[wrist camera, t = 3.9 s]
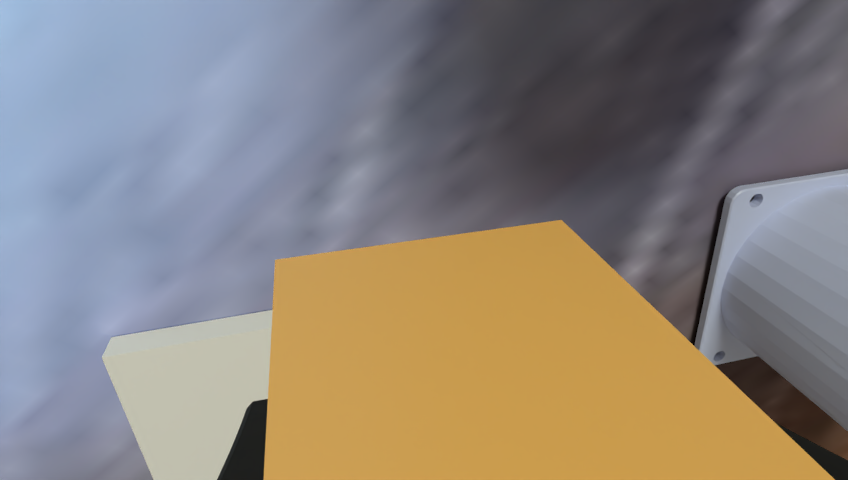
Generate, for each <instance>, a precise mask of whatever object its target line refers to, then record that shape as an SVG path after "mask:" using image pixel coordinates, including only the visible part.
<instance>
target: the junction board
mask: <svg viewBox="0 0 848 480" xmlns="http://www.w3.org/2000/svg"><path fill="white" fill-rule="evenodd" d="M272 312H273V310H270V311H264V312H258V313H252V314H246V315H240V316H234V317H228V318H223V319H217V320H211V321H205V322H199V323H193V324H187V325H181V326H176V327H170V328H164V329H158V330H152V331H146V332H140V333H134V334H128V335H123V336H117V337H111V339H110V341H109V344H108V346H107V348H106V350H105V352H104V354H103V356H102V359H103V362H104V364H105V366H106V369H107V371H108V373H109V376H110V378H111V380H112V383H113V385H114V387H115V390H116V392H117V395H118V397H119V399H120V402H121V404H122V406H123V409H124V411H125V413H126V416H127V418H128V420H129V423H130V425H131V428H132V430H133V432H134V435H135V437H136V439H137V442H138V444H139V446H140V449H141V451H142V453H143V456H144V458H145V461H146V463H147V465H148V468H149V470H150V472H151V475H152V477H153V479H154V480H217V479H218V476H219V474H220V472H221V470H222V468H223V465H224V463H225V461H226V459H227V456H228V454H229V452H230V450H231V447H232V445H233V443H234V440H235V438H236V435H237V433H238V430H239V428H240V425H241V423H242V420H243V417H244V414H245V412H246V409H247V407H248V406H249V405H250V404H251V403H252V402H253V401H258V400H264V399H268V386H269V368H270V349H271V330H272Z"/></svg>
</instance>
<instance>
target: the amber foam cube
mask: <svg viewBox="0 0 848 480" xmlns="http://www.w3.org/2000/svg"><path fill="white" fill-rule="evenodd" d="M264 480H835V479H834V478H833V477H832V476H831V475H830V474H829V473H828V472H826V471H825V470H824V469H823V468H822V467H821V466H820V465H819V464H818V463H817V462H816V461H815V460H814V459H813V458H812V457H811V456H810V455H809V454H807V453H806V452H805V451H804V450H803V449H802V448H801V447H800V446H799V445H798V444H797V443H796V442H795V441H794V440H793V439H792V438H791V437H790V436H789V435H787V434H786V433H785V432H784V431H783V430H782V429H781V428H780V427H779V426H778V425H777V424H776V423H775V422H774V421H773V420H772V419H771V418H770V417H769V416H767V415H766V414H765V413H764V412H763V411H762V410H761V409H760V408H759V407H758V406H757V405H756V404H755V403H754V402H753V401H752V400H751V399H750V398H748V397H747V396H746V395H745V394H744V393H743V392H742V391H741V390H740V389H739V388H738V387H737V386H736V385H735V384H734V383H733V382H732V381H731V380H730V379H728V378H727V377H726V376H725V375H724V374H723V373H722V372H721V371H720V370H719V369H718V368H717V367H716V366H715V365H714V364H713V363H712V362H711V361H710V360H708V359H707V358H706V357H705V356H704V355H703V354H702V353H701V352H700V351H699V350H698V349H697V348H696V347H695V346H694V345H693V344H692V343H691V342H689V341H688V340H687V339H686V338H685V337H684V336H683V335H682V334H681V333H680V332H679V331H678V330H677V329H676V328H675V327H674V326H673V325H672V324H671V323H669V322H668V321H667V320H666V319H665V318H664V317H663V316H662V315H661V314H660V313H659V312H658V311H657V310H656V309H655V308H654V307H653V306H652V305H651V304H649V303H648V302H647V301H646V300H645V299H644V298H643V297H642V296H641V295H640V294H639V293H638V292H637V291H636V290H635V289H634V288H633V287H632V286H630V285H629V284H628V283H627V282H626V281H625V280H624V279H623V278H622V277H621V276H620V275H619V274H618V273H617V272H616V271H615V270H614V269H613V268H612V267H610V266H609V265H608V264H607V263H606V262H605V261H604V260H603V259H602V258H601V257H600V256H599V255H598V254H597V253H596V252H595V251H594V250H593V249H592V248H590V247H589V246H588V245H587V244H586V243H585V242H584V241H583V240H582V239H581V238H580V237H579V236H578V235H577V234H576V233H575V232H574V231H573V230H571V229H570V228H569V227H568V226H567V225H566V224H565V223H564V222H563V221H562V220H557V221H550V222H543V223H536V224H529V225H521V226H514V227H507V228H500V229H493V230H486V231H478V232H471V233H464V234H457V235H450V236H443V237H435V238H428V239H421V240H414V241H407V242H399V243H392V244H385V245H378V246H371V247H364V248H356V249H349V250H342V251H335V252H328V253H321V254H313V255H306V256H299V257H292V258H285V259H277V260H275V274H274V293H273V312H272V330H271V349H270V368H269V386H268V405H267V424H266V442H265V461H264Z"/></svg>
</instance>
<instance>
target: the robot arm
mask: <svg viewBox="0 0 848 480" xmlns="http://www.w3.org/2000/svg"><path fill="white" fill-rule="evenodd" d="M754 195H755V196H754ZM753 196H754V198H753V200H752V201H750V200H751V198H752V197H753ZM694 346H695V347H696V348H697V349H698V350H699V351H700V352H701V353H702V354H703V355H704V356H705V357H706V358H707V359H708V360H710V361H711V362H712V363H713V364H714V365H719V364H723V363H728V362H733V361H737V360H742V359H747V358H751V357H756V356H759V357H760V358H761V359H762V360H763V361H765V362H766V363H767V364H768V365H769V366H771V367H772V368H773V369H774V370H775V371H776V372H778V373H779V374H780V375H781V376H782V377H784V378H785V379H786V380H787V381H788V382H790V383H791V384H792V385H793V386H794V387H796V388H797V389H798V390H799V391H800V392H801V393H803V394H804V395H805V396H806V397H807V398H809V399H810V400H811V401H812V402H813V403H815V404H816V405H817V406H818V407H819V408H821V409H822V410H823V411H824V412H825V413H827V414H828V415H829V416H830V417H831V418H832V419H834V420H835V421H836V422H837V423H838V424H840V425H841V426H842V427H843V428H844V429H846V430H847V431H848V169H846V170H839V171H833V172H826V173H820V174H813V175H807V176H800V177H794V178H788V179H781V180H775V181H768V182H762V183H755V184H749V185H742V186H738V187H735V188H734V189H732V190H731V191H730V192H729V193H728V194H727V196H726V198H725V201H724V206H723V211H722V216H721V220H720V225H719V230H718V235H717V239H716V244H715V249H714V254H713V259H712V263H711V268H710V273H709V278H708V283H707V287H706V292H705V297H704V302H703V306H702V311H701V316H700V321H699V326H698V330H697V335H696V340H695V345H694ZM267 405H268V399H264V400H258V401H253V402H252V403H251V404H250V405H249V406H248V407H247V409H246V412H245V414H244V417H243V420H242V423H241V425H240V428H239V430H238V433H237V435H236V438H235V440H234V443H233V445H232V447H231V450H230V452H229V454H228V456H227V459H226V461H225V463H224V465H223V468H222V470H221V472H220V474H219V476H218V479H217V480H264V461H265V442H266V424H267ZM776 424H777V423H776ZM777 425H778V426H779V427H780V428H781V429H782V430H783V431H784V432H785V433H786V434H787V435H789V436H790V437H791V438H792V439H793V440H794V441H795V442H796V443H797V444H798V445H799V446H800V447H801V448H802V449H803V450H804V451H805V452H806V453H807V454H809V455H810V456H811V457H812V458H813V459H814V460H815V461H816V462H817V463H818V464H819V465H820V466H821V467H822V468H823V469H824V470H825V471H826V472H828V473H829V474H830V475H831V476H832V477H833V478H834V479H835V480H848V460H846V459H844V458H842V457H840V456H838V455H836V454H834V453H832V452H830V451H828V450H826V449H824V448H822V447H820V446H818V445H816V444H815V443H813V442H811V441H809V440H807V439H805V438H803V437H801V436H799V435H797V434H795V433H794V432H792V431H790V430H788V429H786V428H784V427H782V426H780V425H779V424H777Z"/></svg>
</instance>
